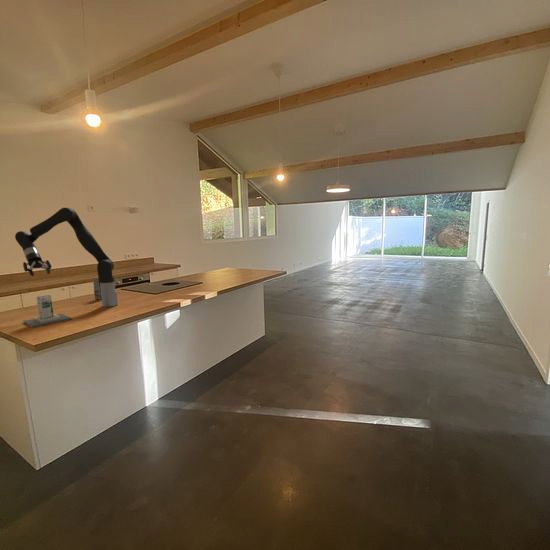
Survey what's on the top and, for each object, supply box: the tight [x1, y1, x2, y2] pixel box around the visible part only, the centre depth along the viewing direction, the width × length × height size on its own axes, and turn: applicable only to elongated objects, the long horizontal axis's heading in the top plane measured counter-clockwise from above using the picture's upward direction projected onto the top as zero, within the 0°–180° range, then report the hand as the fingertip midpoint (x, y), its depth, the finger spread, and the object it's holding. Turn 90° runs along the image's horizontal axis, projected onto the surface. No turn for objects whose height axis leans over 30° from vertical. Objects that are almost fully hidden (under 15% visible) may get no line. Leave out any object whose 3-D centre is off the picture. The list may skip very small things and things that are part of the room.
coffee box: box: [92, 278, 102, 301], centre depth 258 cm, size 9×6×16 cm
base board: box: [22, 313, 73, 328], centre depth 197 cm, size 20×18×3 cm
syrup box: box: [36, 294, 54, 320], centre depth 196 cm, size 6×6×14 cm
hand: (41, 274), depth 207 cm, fingers open, 8 cm apart
